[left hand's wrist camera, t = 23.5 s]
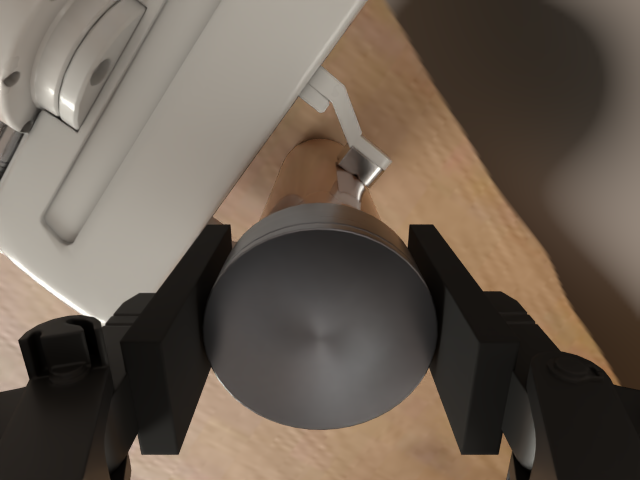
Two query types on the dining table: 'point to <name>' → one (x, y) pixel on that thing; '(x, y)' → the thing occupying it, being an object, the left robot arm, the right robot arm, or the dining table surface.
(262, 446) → the dining table surface
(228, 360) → the lid
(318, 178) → the jar
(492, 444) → the left robot arm
